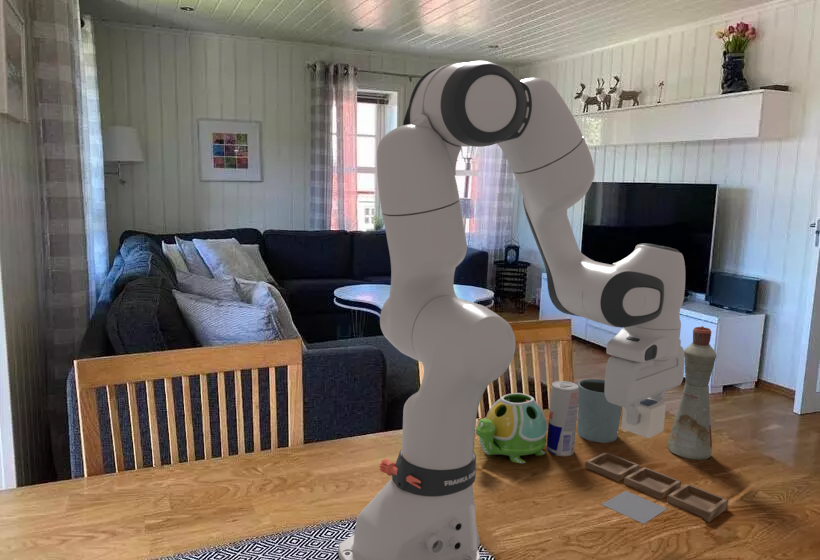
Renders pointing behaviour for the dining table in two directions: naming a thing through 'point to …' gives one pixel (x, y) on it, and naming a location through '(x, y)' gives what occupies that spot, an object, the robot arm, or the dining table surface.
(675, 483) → the tray
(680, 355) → the robot arm
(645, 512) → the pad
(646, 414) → the white cube
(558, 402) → the beverage can
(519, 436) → the turtle holder
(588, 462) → the tray
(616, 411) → the blue-grey plant pot
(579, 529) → the dining table surface
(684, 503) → the tray
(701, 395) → the bottle
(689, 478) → the dining table surface
